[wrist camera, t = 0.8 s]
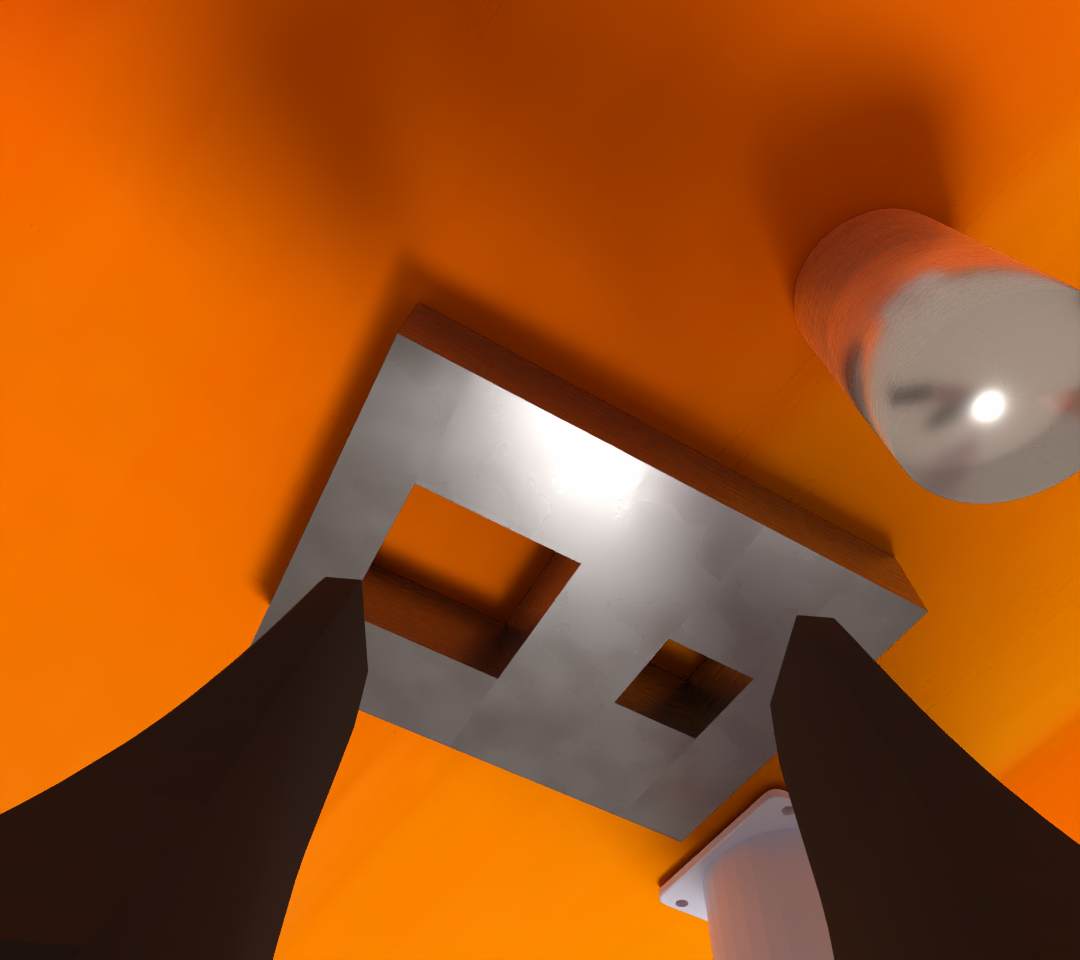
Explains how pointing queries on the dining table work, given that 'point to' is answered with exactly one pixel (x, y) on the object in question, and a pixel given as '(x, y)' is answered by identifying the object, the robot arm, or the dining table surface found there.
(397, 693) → the fitting block
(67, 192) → the dining table surface
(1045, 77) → the dining table surface
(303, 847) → the robot arm
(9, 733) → the dining table surface
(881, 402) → the cylinder
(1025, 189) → the dining table surface
